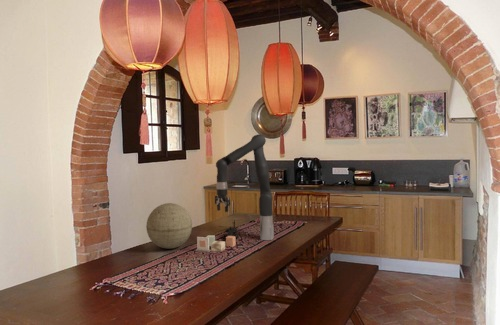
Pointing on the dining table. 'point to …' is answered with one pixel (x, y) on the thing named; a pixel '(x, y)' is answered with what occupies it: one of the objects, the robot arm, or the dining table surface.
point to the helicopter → (231, 231)
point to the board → (203, 244)
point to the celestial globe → (169, 225)
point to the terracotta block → (230, 241)
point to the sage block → (211, 239)
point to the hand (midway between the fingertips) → (222, 211)
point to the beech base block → (218, 246)
